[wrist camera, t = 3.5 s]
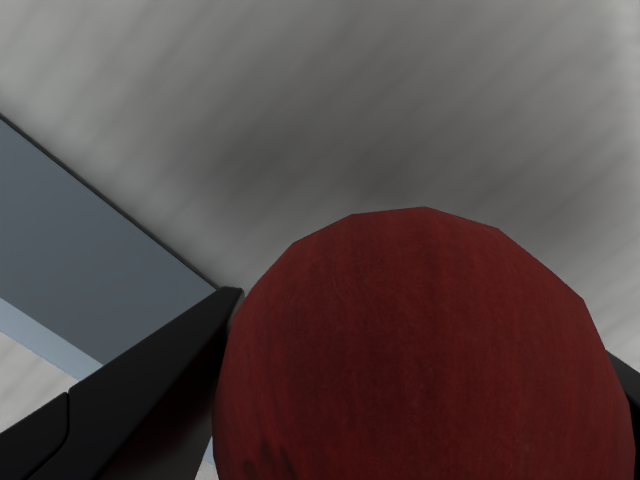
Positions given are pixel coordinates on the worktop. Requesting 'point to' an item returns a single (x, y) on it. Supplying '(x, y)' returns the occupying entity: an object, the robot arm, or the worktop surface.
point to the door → (79, 268)
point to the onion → (416, 363)
